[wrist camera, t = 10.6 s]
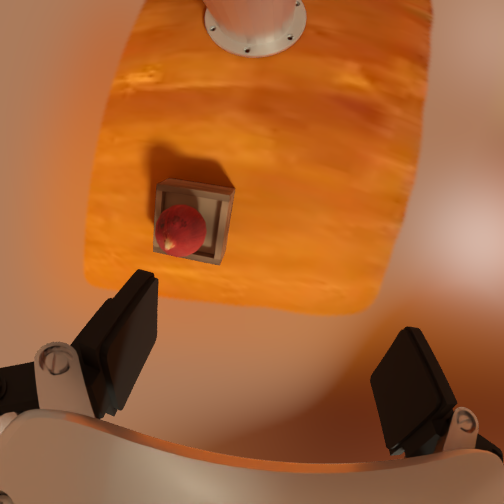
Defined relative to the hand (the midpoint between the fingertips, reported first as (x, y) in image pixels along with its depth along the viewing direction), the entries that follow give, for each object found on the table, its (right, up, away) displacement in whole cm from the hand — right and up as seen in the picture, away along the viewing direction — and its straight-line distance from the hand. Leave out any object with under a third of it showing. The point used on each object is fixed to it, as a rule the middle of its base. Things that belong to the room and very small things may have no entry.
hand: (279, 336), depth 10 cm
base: (-8, +8, +28) cm, 30 cm away
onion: (-9, +7, +25) cm, 27 cm away
